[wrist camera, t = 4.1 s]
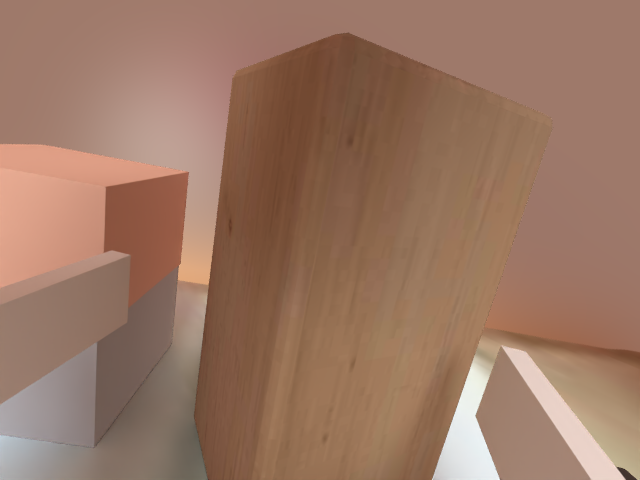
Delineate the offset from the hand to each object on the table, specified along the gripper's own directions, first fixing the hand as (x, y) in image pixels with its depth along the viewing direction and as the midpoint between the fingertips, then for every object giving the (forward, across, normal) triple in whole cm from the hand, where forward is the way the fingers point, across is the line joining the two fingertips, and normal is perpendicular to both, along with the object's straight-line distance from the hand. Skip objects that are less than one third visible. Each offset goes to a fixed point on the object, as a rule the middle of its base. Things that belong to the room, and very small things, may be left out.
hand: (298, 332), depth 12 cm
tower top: (+7, -16, -4) cm, 17 cm away
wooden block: (+5, +1, -11) cm, 12 cm away
